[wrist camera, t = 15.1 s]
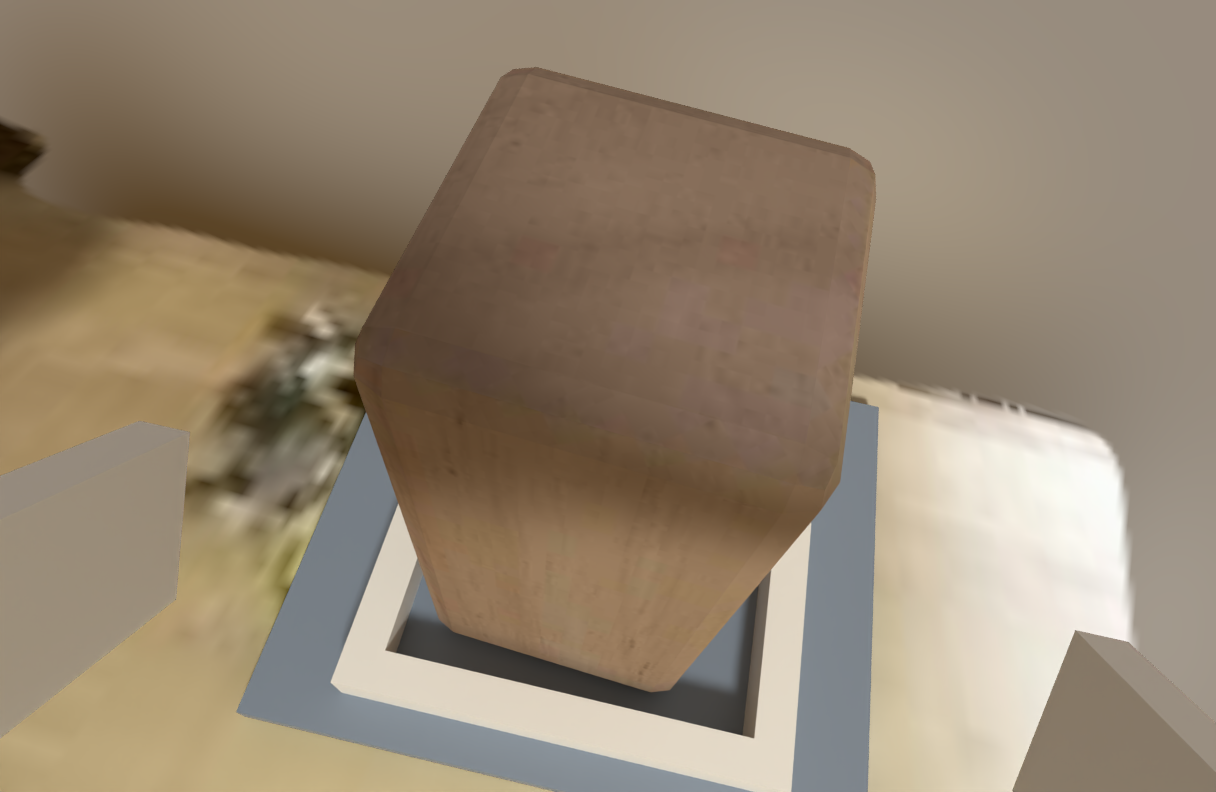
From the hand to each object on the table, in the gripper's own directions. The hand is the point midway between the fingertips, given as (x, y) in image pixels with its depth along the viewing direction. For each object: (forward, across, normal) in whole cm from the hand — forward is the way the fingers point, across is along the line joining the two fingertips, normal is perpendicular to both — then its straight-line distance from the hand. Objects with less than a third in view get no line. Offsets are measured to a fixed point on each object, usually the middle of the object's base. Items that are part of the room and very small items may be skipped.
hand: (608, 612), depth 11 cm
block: (+21, -1, -9) cm, 23 cm away
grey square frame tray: (+22, 0, -9) cm, 24 cm away
